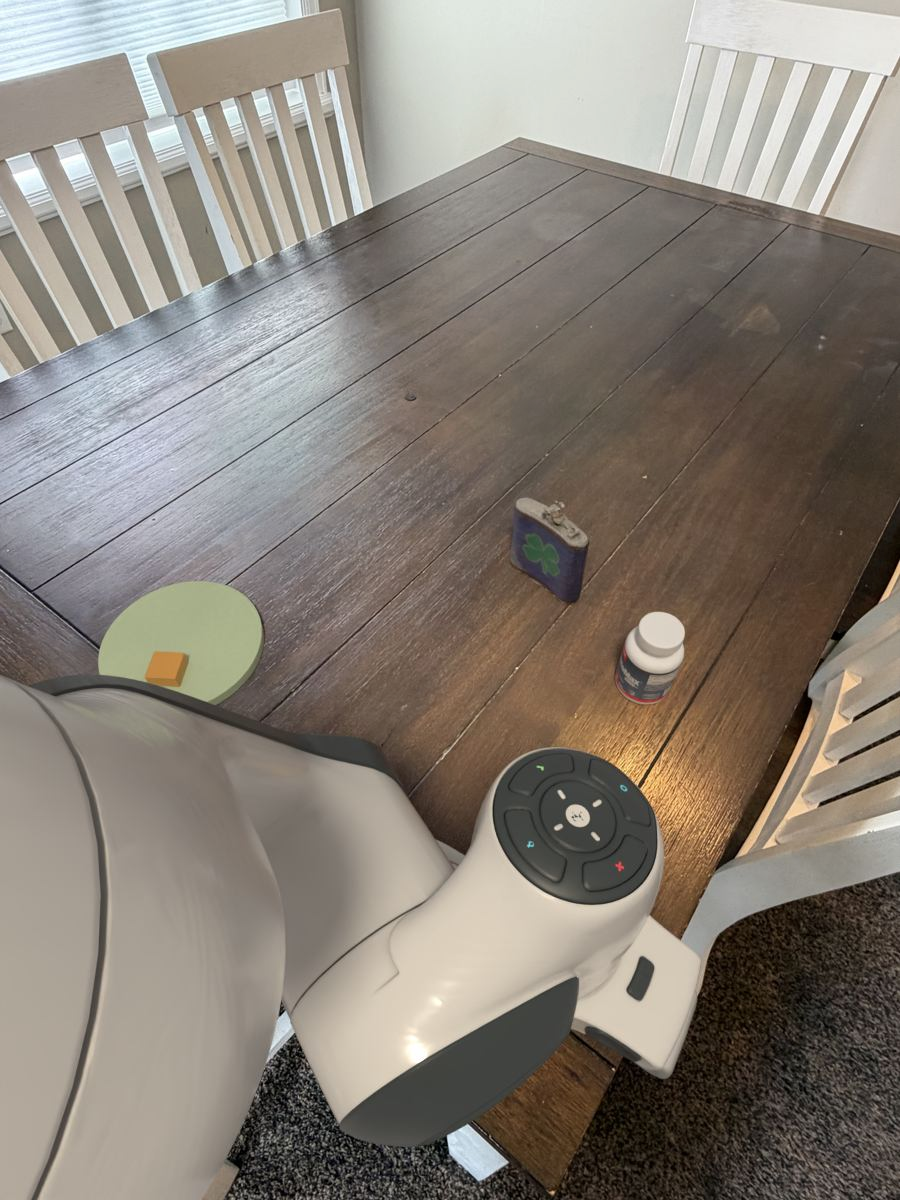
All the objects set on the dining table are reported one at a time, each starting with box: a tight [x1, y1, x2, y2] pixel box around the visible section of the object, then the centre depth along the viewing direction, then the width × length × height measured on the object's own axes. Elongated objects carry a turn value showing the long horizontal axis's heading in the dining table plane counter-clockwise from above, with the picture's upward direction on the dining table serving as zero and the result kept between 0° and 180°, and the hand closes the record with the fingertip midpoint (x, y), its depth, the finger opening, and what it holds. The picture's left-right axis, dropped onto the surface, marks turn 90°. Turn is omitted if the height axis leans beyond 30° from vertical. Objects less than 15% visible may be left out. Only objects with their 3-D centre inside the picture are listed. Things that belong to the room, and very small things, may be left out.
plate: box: [97, 580, 265, 706], centre depth 73 cm, size 16×16×1 cm
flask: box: [509, 496, 590, 606], centre depth 75 cm, size 9×3×11 cm, turn 44°
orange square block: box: [145, 651, 188, 687], centre depth 70 cm, size 3×3×2 cm
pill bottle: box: [614, 611, 686, 706], centre depth 67 cm, size 5×5×9 cm
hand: (524, 977), depth 53 cm, fingers closed on sponge, 5 cm apart
